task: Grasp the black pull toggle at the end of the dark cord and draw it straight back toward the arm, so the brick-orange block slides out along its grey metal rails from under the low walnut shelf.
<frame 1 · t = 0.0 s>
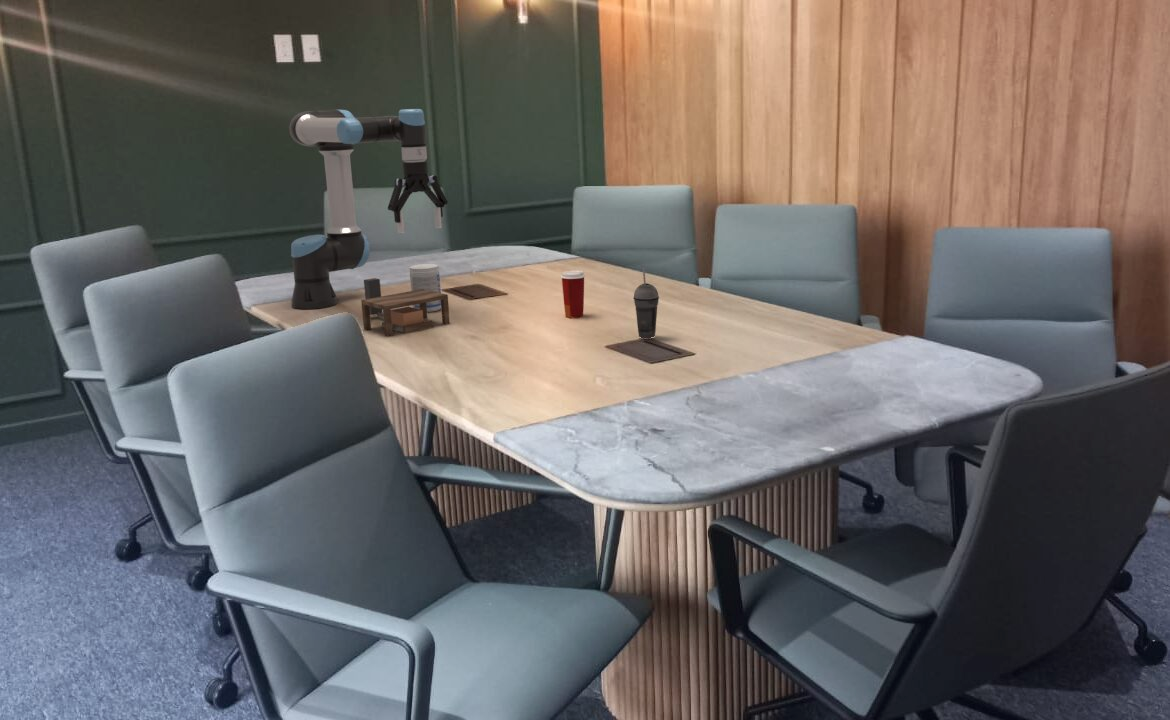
hand: (420, 230, 314), 28 cm above the table, fingers open, 13 cm apart
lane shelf: (407, 326, 312), on the table
paper cup: (574, 316, 318), on the table
supplement tub: (427, 310, 335), on the table
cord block: (391, 302, 316), point 6 cm above the table, slide at 0.0 cm
beverage cup: (646, 338, 288), on the table
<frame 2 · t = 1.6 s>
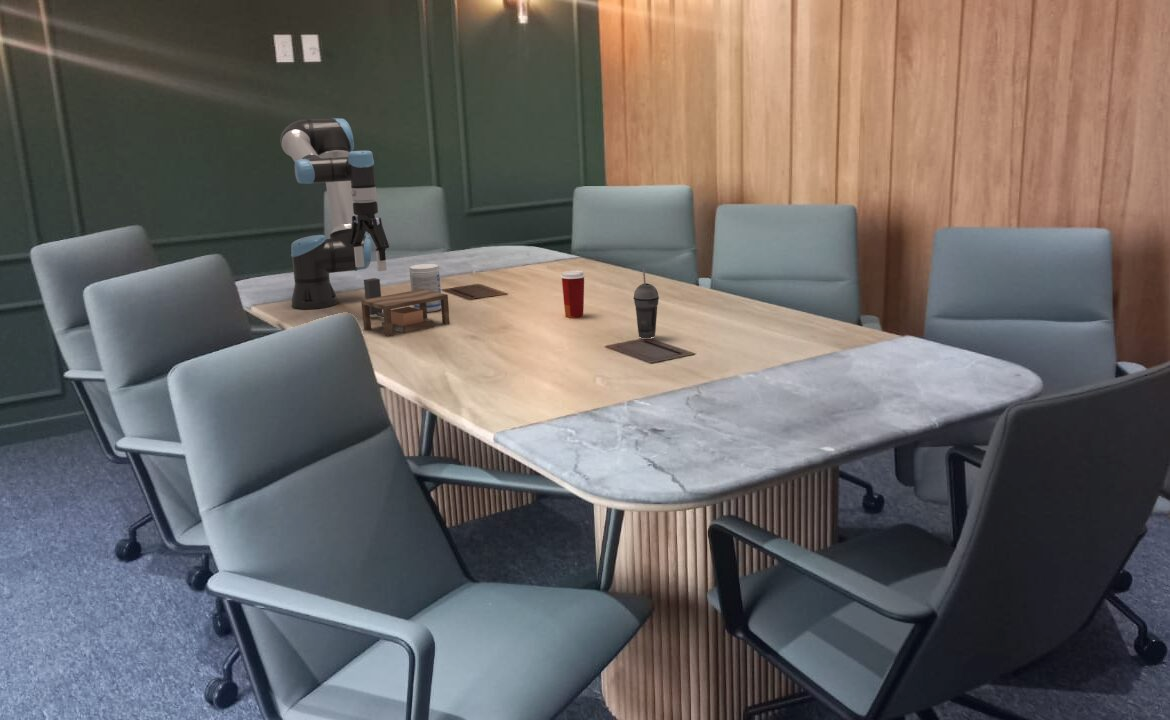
hand: (370, 268, 321), 16 cm above the table, fingers open, 13 cm apart
nothing on the table moved.
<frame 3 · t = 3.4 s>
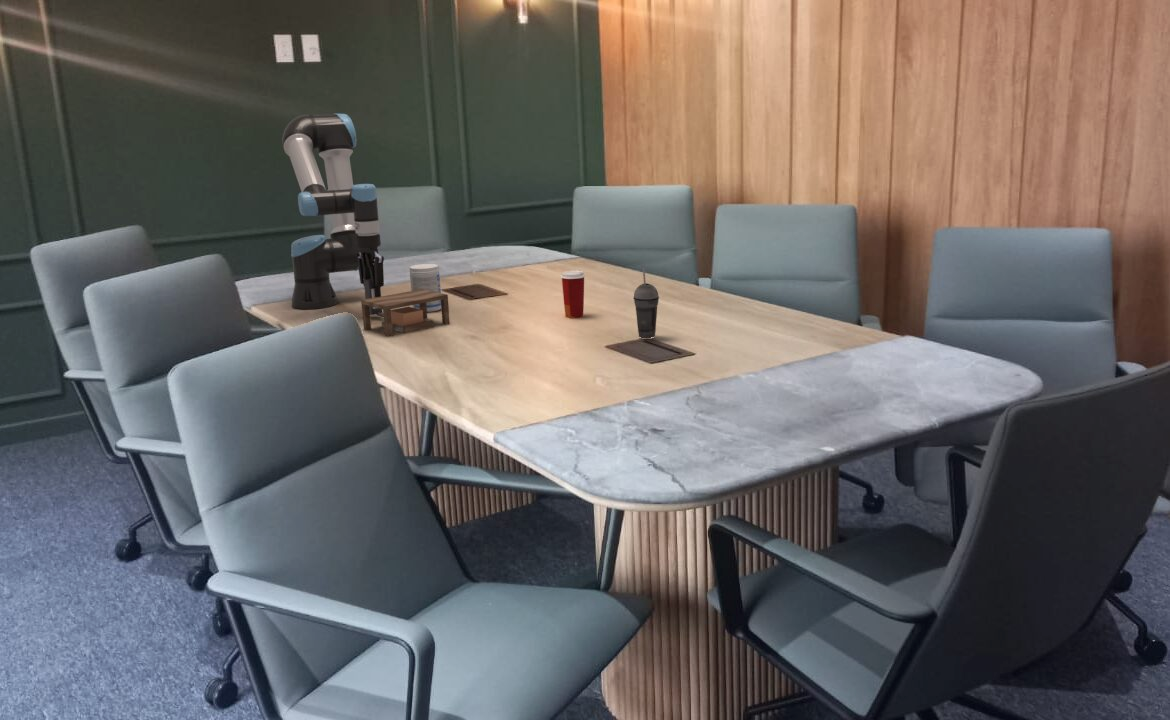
hand: (374, 307, 324), 4 cm above the table, fingers closed on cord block, 3 cm apart
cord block: (391, 302, 316), point 6 cm above the table, slide at 0.0 cm, touching gripper
everything else where it was.
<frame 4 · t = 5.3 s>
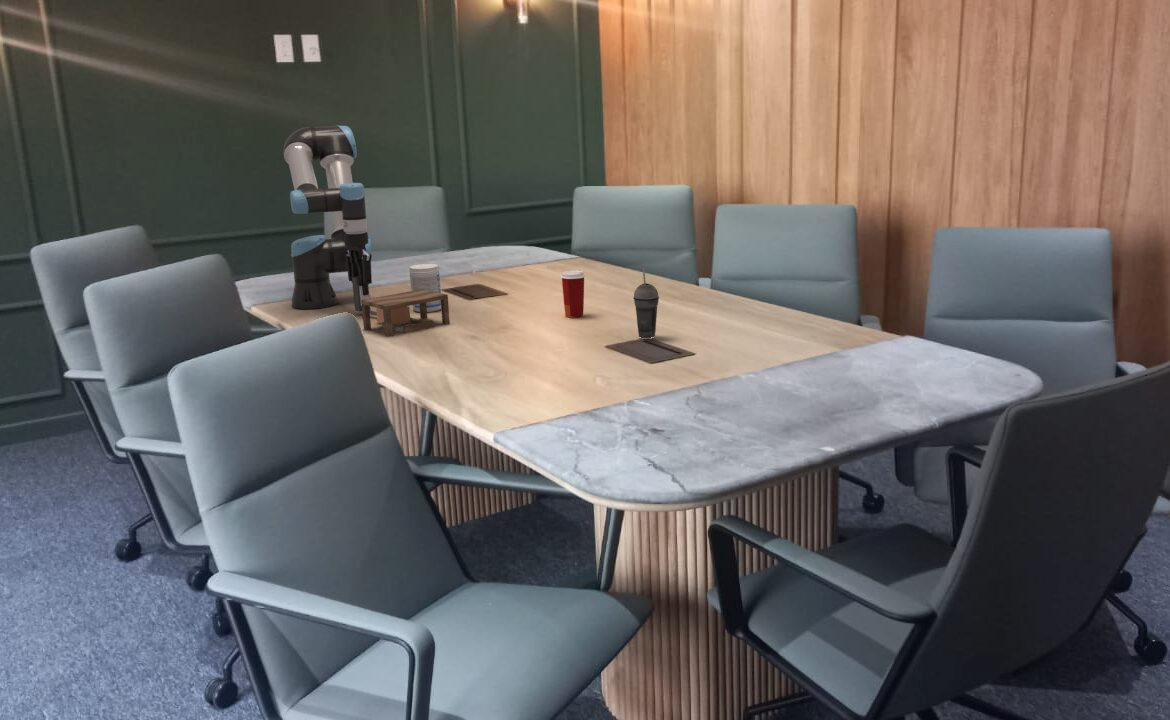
hand: (362, 304, 330), 4 cm above the table, fingers closed on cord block, 3 cm apart
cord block: (378, 299, 321), point 6 cm above the table, slide at 7.5 cm, touching gripper
everything else where it was.
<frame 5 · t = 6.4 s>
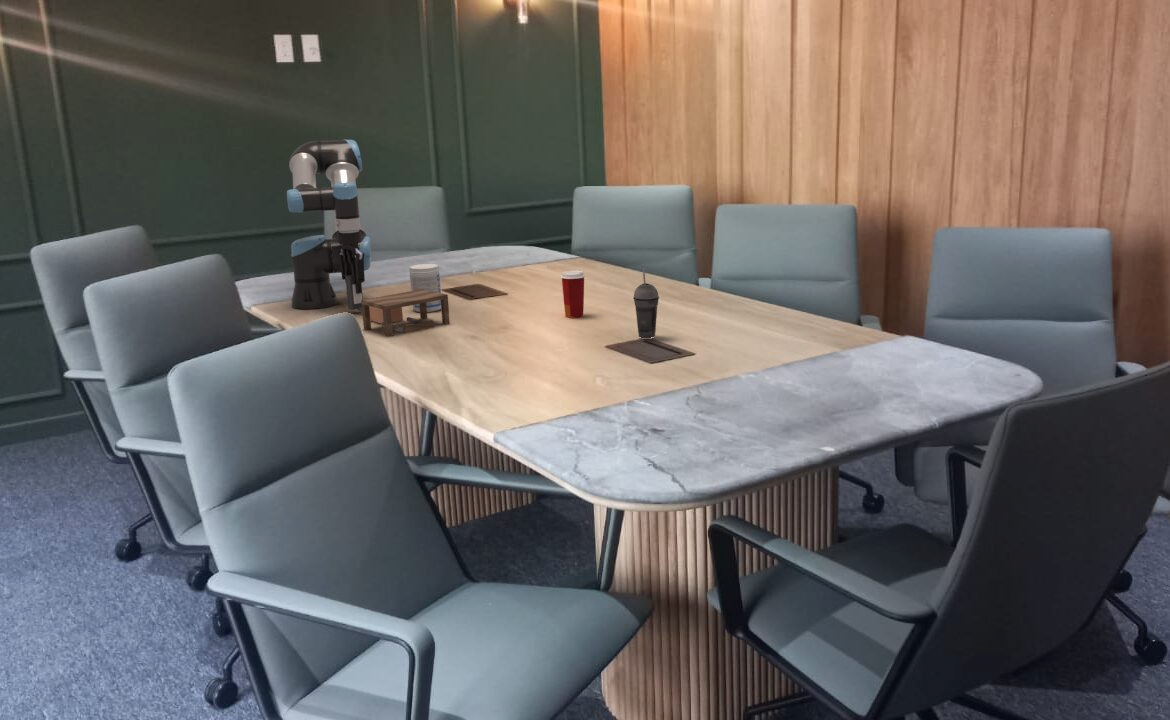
hand: (355, 302, 333), 4 cm above the table, fingers closed on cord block, 3 cm apart
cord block: (371, 298, 325), point 6 cm above the table, slide at 11.9 cm, touching gripper
everything else where it was.
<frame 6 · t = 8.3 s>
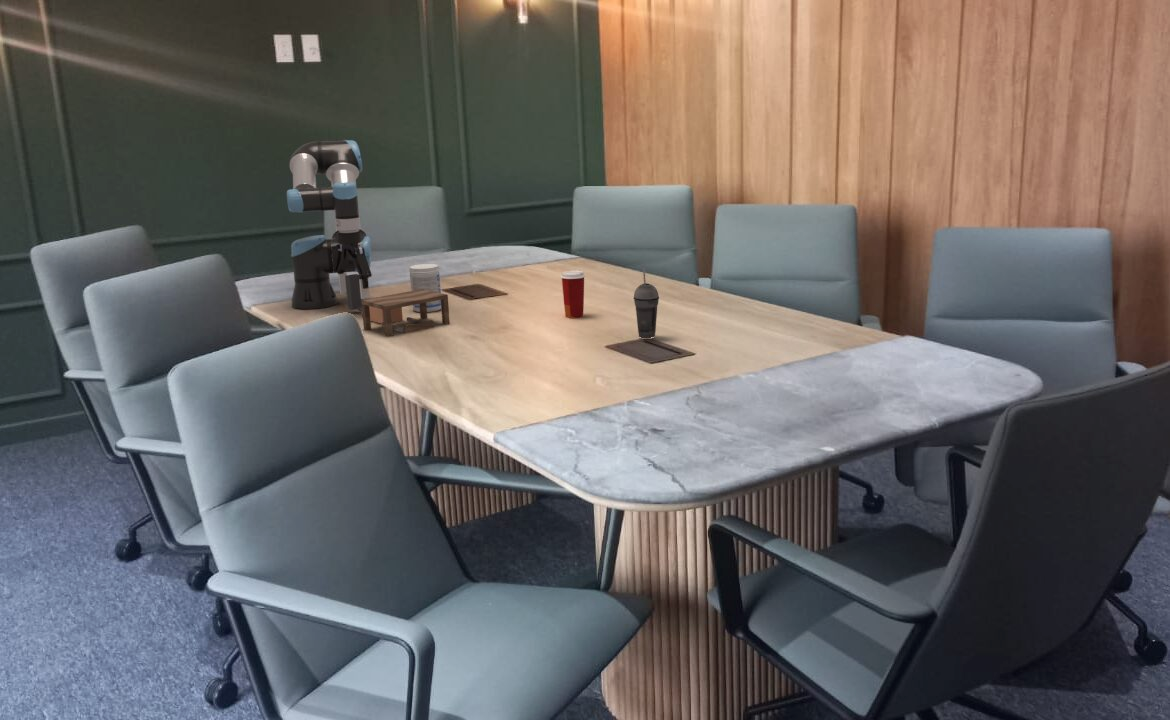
hand: (354, 295, 333), 6 cm above the table, fingers open, 13 cm apart
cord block: (371, 298, 325), point 6 cm above the table, slide at 12.0 cm
everything else where it was.
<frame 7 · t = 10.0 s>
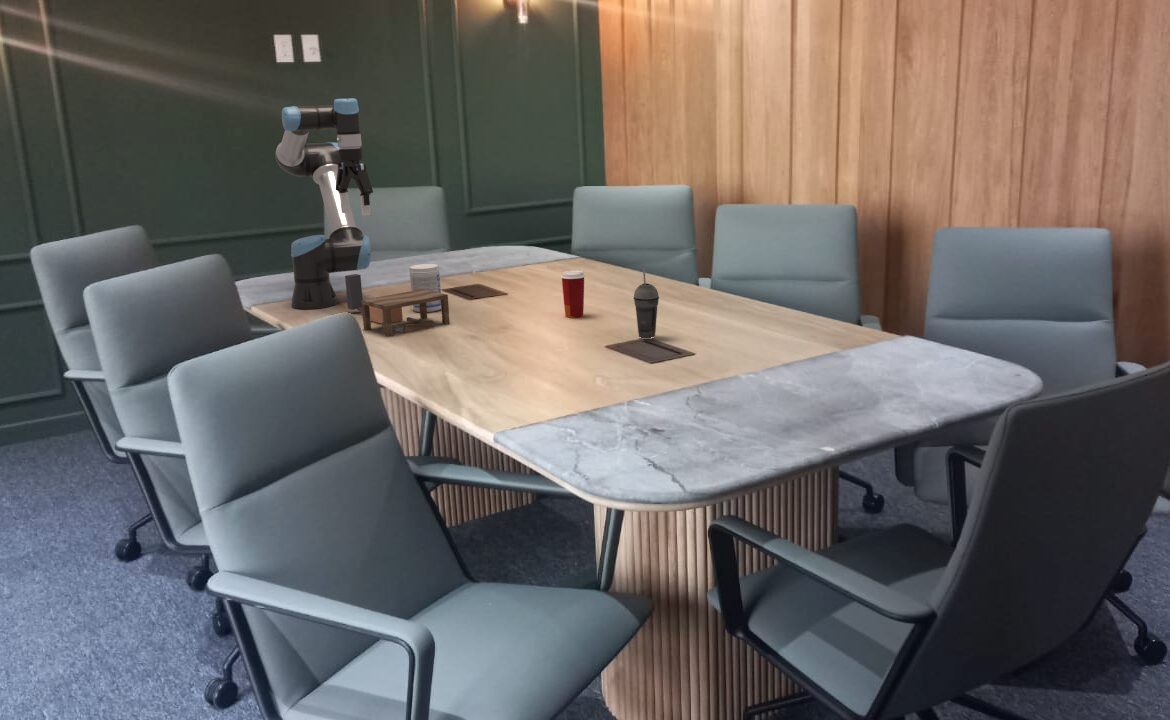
hand: (355, 214, 331), 32 cm above the table, fingers open, 13 cm apart
nothing on the table moved.
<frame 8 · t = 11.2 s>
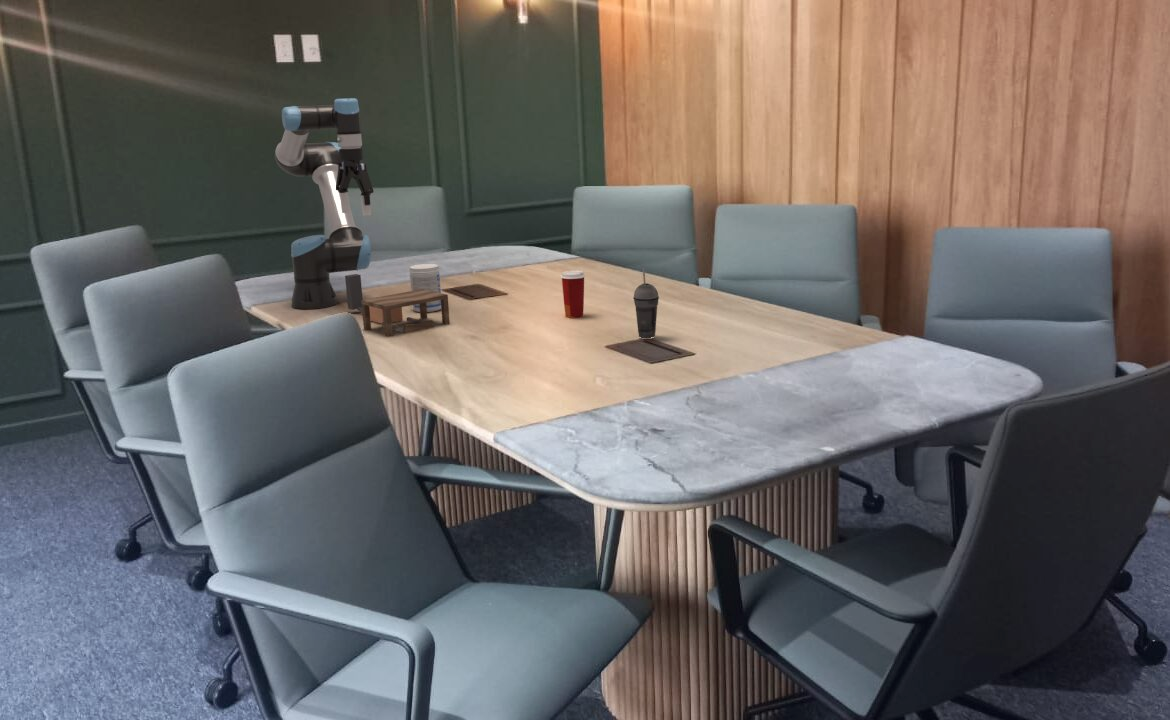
hand: (356, 214, 331), 32 cm above the table, fingers open, 13 cm apart
nothing on the table moved.
at the end: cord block slide at 12.0 cm; the gripper is holding nothing; supplement tub moved 0.2 cm from its start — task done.
